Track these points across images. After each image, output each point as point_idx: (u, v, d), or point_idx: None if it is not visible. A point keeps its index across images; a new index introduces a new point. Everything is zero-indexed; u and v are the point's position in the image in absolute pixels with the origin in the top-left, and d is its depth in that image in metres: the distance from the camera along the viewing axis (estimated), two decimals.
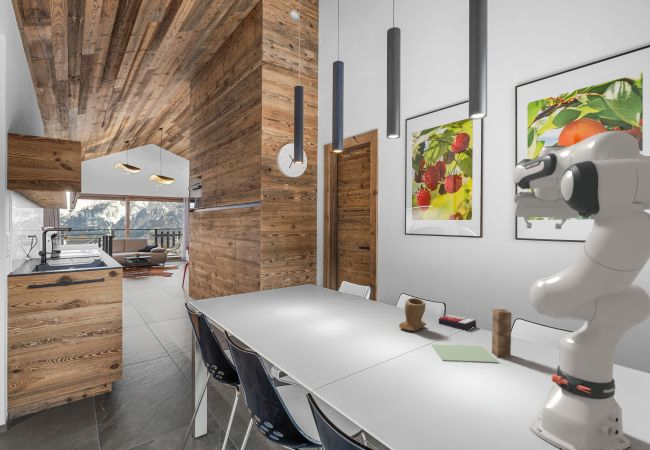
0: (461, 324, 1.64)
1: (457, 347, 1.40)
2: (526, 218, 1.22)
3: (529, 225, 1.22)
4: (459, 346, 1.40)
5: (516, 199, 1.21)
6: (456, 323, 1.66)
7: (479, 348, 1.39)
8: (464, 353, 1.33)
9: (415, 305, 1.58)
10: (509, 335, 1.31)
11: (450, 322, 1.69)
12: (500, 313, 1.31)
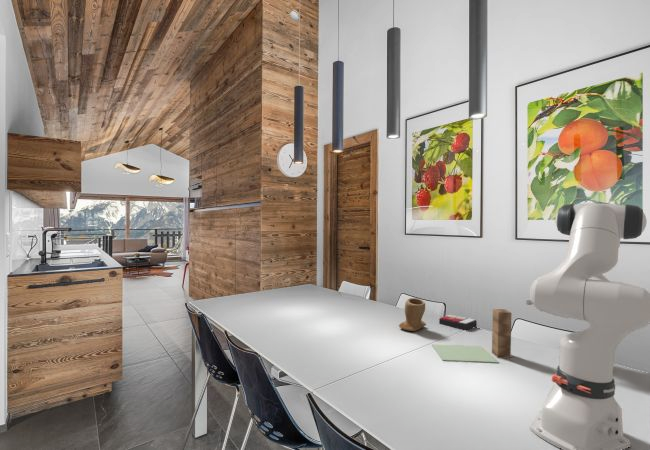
0: (462, 324, 1.64)
1: (457, 347, 1.40)
2: None
3: (529, 300, 1.37)
4: (459, 346, 1.40)
5: None
6: (457, 323, 1.66)
7: (479, 348, 1.39)
8: (464, 353, 1.33)
9: (415, 305, 1.58)
10: (509, 335, 1.31)
11: (451, 322, 1.69)
12: (500, 313, 1.31)
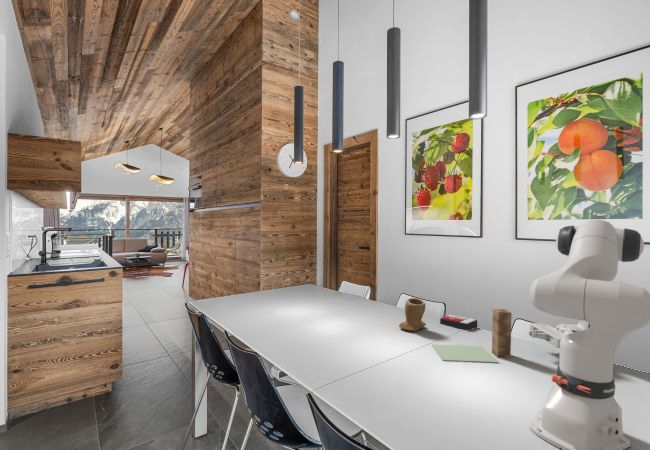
0: (463, 324, 1.64)
1: (457, 347, 1.40)
2: (538, 330, 1.34)
3: (532, 331, 1.33)
4: (459, 346, 1.40)
5: None
6: (458, 323, 1.66)
7: (479, 348, 1.39)
8: (464, 353, 1.33)
9: (415, 305, 1.58)
10: (509, 335, 1.31)
11: (452, 322, 1.69)
12: (500, 313, 1.31)
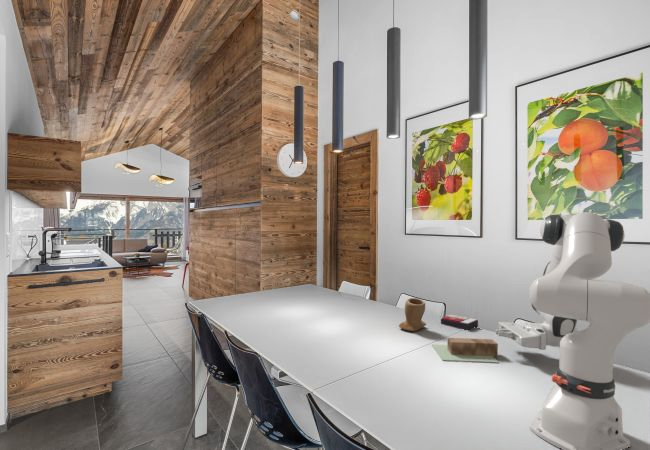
0: (464, 324, 1.64)
1: None
2: (505, 329, 1.35)
3: (499, 330, 1.34)
4: None
5: None
6: (458, 323, 1.66)
7: None
8: None
9: (415, 305, 1.58)
10: (474, 344, 1.31)
11: (452, 322, 1.69)
12: (452, 352, 1.32)
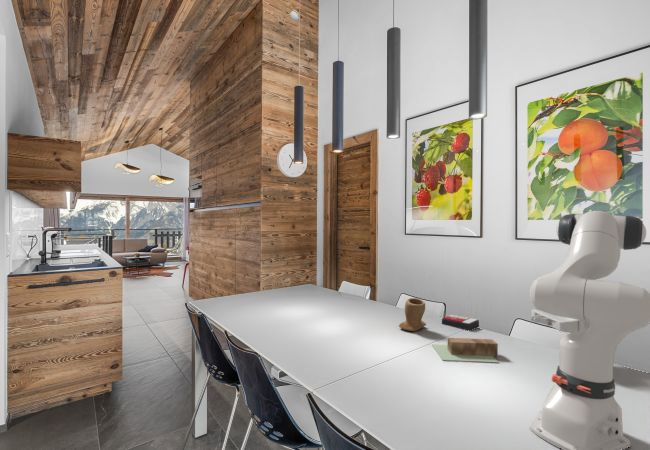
0: (465, 324, 1.64)
1: None
2: (539, 315, 1.34)
3: (534, 316, 1.33)
4: None
5: None
6: (460, 323, 1.66)
7: None
8: None
9: (415, 305, 1.58)
10: (474, 344, 1.31)
11: (453, 322, 1.69)
12: (452, 352, 1.32)
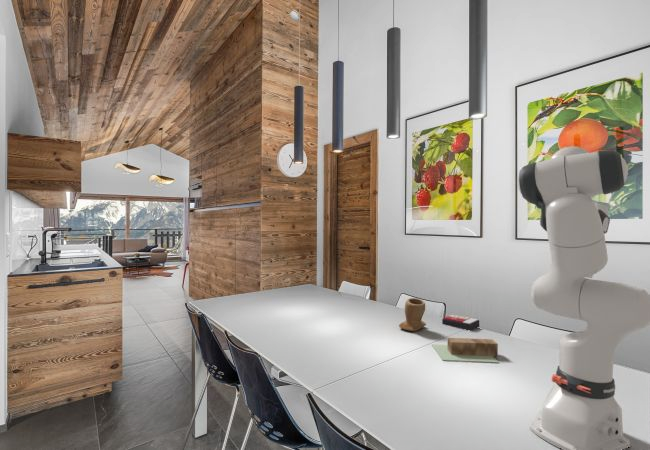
0: (465, 324, 1.64)
1: None
2: None
3: None
4: None
5: None
6: (460, 323, 1.66)
7: None
8: None
9: (415, 305, 1.58)
10: (474, 344, 1.31)
11: (454, 322, 1.69)
12: (452, 352, 1.32)
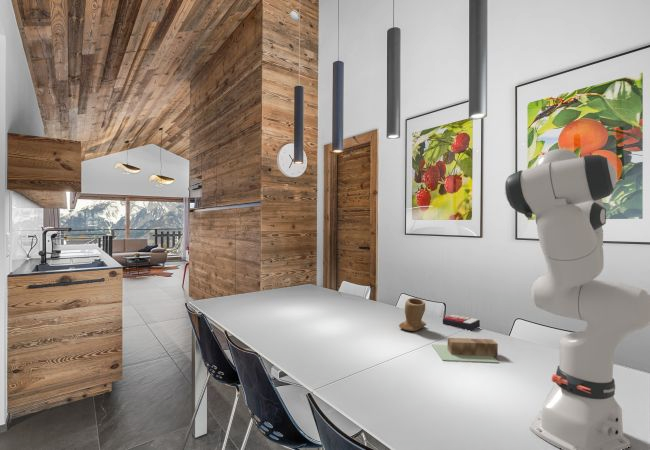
0: (466, 324, 1.64)
1: None
2: None
3: None
4: None
5: None
6: (461, 323, 1.66)
7: None
8: None
9: (415, 305, 1.58)
10: (474, 344, 1.31)
11: (454, 322, 1.69)
12: (452, 352, 1.32)
